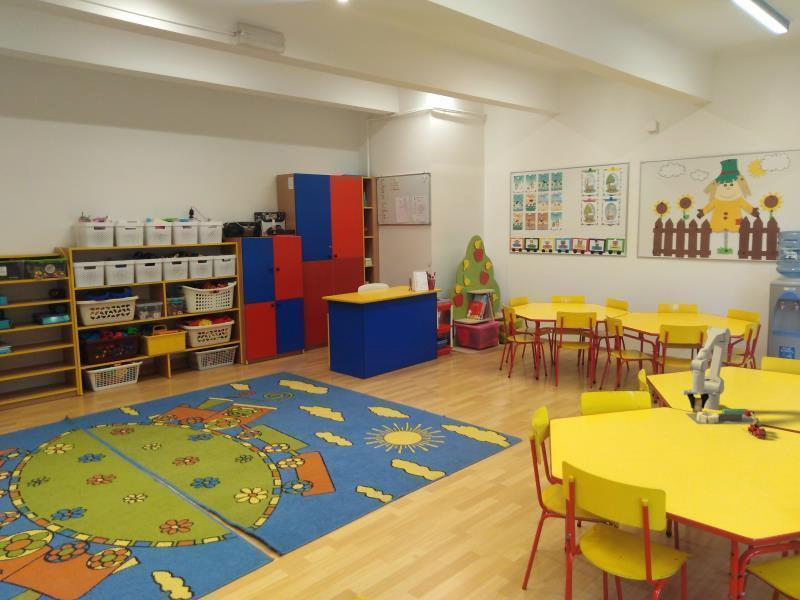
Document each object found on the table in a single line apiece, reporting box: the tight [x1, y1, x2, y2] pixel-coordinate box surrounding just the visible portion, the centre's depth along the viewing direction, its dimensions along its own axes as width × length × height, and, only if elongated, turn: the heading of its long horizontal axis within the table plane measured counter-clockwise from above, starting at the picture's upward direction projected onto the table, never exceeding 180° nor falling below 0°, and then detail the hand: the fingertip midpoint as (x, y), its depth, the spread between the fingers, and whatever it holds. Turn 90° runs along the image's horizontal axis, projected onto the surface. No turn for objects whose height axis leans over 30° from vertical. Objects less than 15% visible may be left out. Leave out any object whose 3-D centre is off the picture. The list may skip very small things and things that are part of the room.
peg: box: [692, 396, 703, 414], centre depth 308 cm, size 4×4×7 cm
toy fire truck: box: [744, 410, 767, 440], centre depth 283 cm, size 3×14×10 cm, turn 179°
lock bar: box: [721, 408, 751, 414], centre depth 299 cm, size 3×12×2 cm, turn 85°
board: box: [685, 410, 763, 428], centre depth 302 cm, size 16×30×4 cm, turn 85°
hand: (697, 408), depth 309 cm, fingers closed on peg, 4 cm apart
